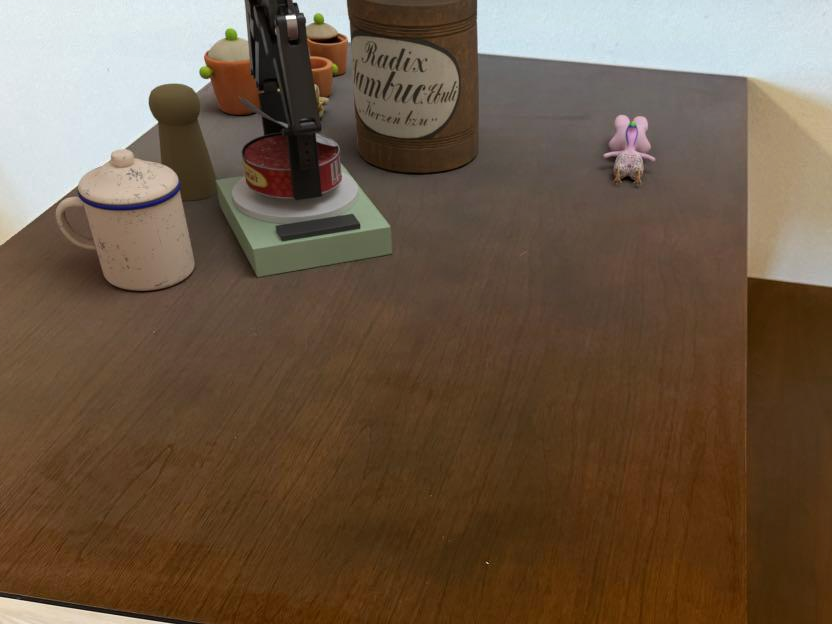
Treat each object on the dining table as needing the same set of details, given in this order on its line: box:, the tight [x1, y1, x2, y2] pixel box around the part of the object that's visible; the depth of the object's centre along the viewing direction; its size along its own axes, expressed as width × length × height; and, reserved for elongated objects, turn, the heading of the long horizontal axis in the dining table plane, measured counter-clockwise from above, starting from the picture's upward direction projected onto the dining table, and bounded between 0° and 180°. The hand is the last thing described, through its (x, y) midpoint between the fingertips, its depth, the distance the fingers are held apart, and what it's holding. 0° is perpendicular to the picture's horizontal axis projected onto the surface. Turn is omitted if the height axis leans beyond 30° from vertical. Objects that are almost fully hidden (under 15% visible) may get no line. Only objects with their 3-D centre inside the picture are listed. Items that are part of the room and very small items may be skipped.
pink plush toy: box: [602, 114, 656, 185], centre depth 117 cm, size 6×6×15 cm
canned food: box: [239, 96, 342, 199], centre depth 98 cm, size 11×10×10 cm
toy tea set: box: [198, 12, 349, 120], centre depth 129 cm, size 26×16×10 cm, turn 174°
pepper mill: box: [148, 83, 218, 202], centre depth 105 cm, size 6×6×11 cm
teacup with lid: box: [55, 148, 196, 292], centre depth 91 cm, size 12×9×12 cm
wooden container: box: [346, 0, 480, 174], centre depth 112 cm, size 15×15×22 cm
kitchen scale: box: [215, 163, 393, 278], centre depth 101 cm, size 17×14×4 cm
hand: (293, 175), depth 100 cm, fingers closed on canned food, 10 cm apart
